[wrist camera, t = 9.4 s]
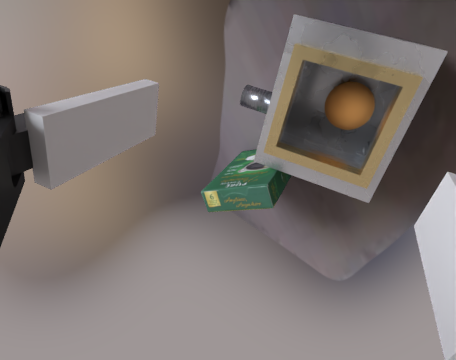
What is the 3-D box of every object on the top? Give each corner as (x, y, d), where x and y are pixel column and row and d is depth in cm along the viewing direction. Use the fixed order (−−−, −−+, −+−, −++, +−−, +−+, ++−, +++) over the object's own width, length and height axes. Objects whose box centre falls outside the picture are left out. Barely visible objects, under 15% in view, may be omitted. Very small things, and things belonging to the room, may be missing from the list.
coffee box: (244, 169, 45) (206, 214, 34) (239, 150, 45) (198, 191, 34) (300, 162, 42) (276, 210, 31) (295, 141, 41) (270, 183, 30)
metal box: (276, 9, 36) (243, 2, 26) (426, 45, 32) (452, 52, 22) (248, 124, 42) (213, 153, 33) (368, 165, 39) (368, 210, 29)
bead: (327, 72, 34) (346, 84, 30) (368, 80, 35) (392, 93, 31) (311, 116, 36) (327, 133, 32) (350, 123, 37) (371, 140, 33)
